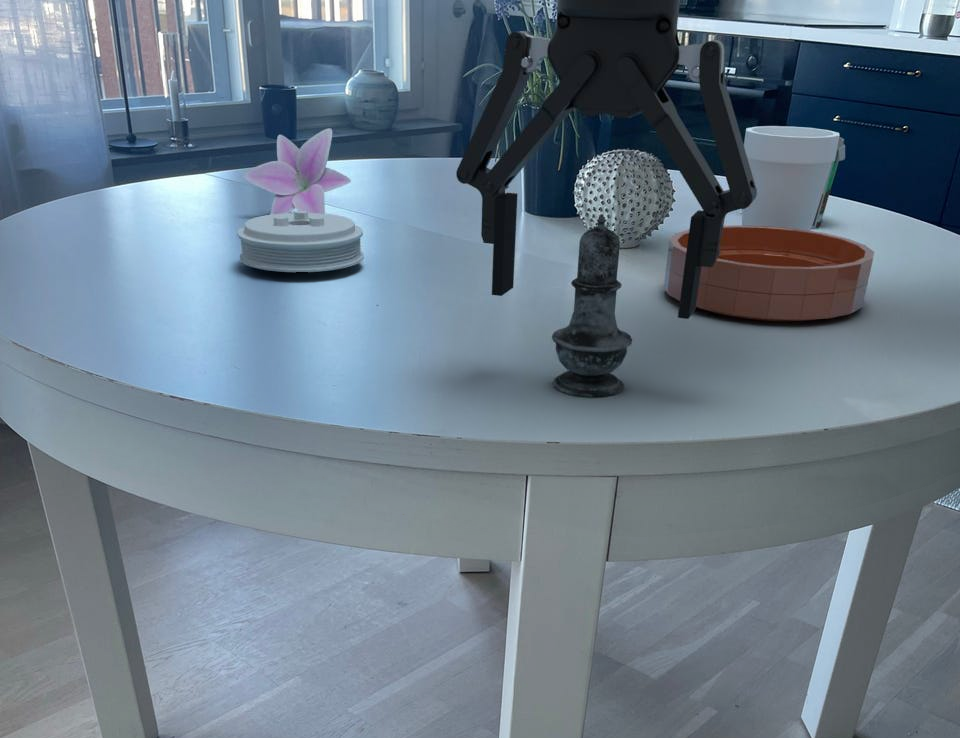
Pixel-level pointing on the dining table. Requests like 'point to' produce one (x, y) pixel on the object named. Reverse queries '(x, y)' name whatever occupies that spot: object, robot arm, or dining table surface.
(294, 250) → the lid
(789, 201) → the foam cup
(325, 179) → the lily
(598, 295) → the salt shaker
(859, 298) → the bowl
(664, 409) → the dining table surface
